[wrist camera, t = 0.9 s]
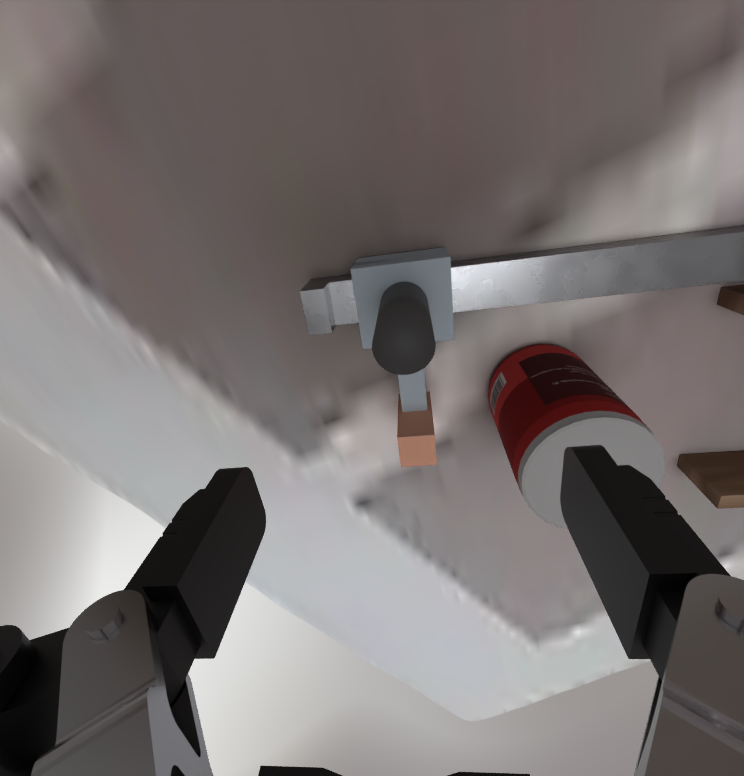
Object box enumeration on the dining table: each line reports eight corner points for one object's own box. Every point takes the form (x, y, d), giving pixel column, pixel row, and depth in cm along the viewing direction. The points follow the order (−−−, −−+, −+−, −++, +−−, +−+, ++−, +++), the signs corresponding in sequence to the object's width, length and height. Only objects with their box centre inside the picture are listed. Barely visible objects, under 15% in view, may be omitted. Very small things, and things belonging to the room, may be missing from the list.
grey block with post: (357, 258, 28) (332, 299, 19) (444, 247, 27) (466, 283, 18) (380, 416, 34) (370, 511, 24) (453, 410, 33) (473, 506, 23)
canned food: (509, 443, 35) (549, 547, 25) (469, 369, 32) (497, 453, 22) (600, 406, 32) (684, 504, 23) (566, 322, 30) (645, 393, 20)
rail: (311, 279, 29) (299, 291, 26) (774, 221, 26) (827, 227, 22) (319, 319, 31) (309, 335, 28) (761, 269, 27) (808, 281, 24)
